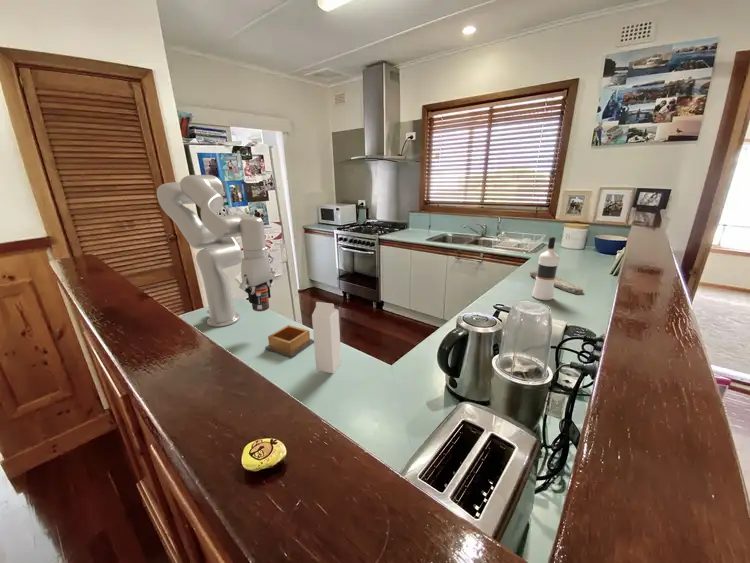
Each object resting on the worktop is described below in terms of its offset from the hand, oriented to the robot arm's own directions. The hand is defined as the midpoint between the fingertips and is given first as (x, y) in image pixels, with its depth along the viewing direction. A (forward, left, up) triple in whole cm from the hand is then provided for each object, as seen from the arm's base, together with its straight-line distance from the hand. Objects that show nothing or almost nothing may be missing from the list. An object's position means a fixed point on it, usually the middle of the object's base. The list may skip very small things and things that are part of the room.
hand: (260, 299), depth 115 cm
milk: (+35, -6, -15) cm, 38 cm away
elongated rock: (+98, +117, -15) cm, 154 cm away
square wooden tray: (+15, -2, -14) cm, 21 cm away
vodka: (+93, +91, -15) cm, 131 cm away
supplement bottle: (0, 0, -4) cm, 4 cm away
